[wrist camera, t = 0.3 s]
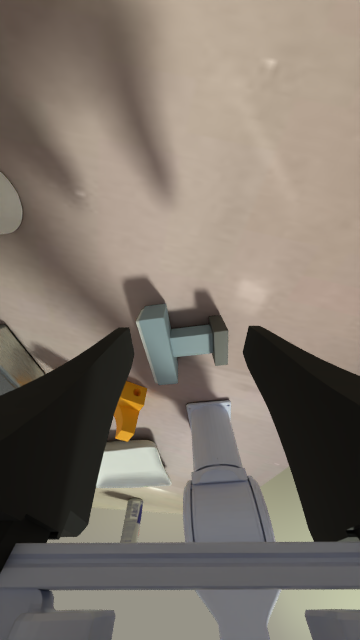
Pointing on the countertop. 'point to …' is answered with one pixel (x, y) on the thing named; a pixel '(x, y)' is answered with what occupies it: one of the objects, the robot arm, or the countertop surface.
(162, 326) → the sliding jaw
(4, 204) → the pale white bottle
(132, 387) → the pipe clamp
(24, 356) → the block
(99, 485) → the salad plate
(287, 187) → the countertop surface
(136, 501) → the energy drink
